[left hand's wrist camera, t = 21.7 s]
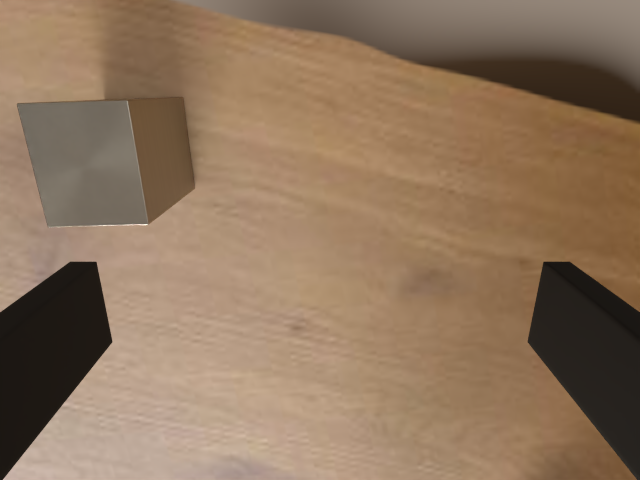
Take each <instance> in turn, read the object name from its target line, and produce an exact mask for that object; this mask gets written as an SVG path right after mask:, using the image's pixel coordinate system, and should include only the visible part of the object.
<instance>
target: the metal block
mask: <svg viewBox="0 0 640 480" xmlns="http://www.w3.org/2000/svg"><path fill="white" fill-rule="evenodd" d="M17 107H18V111H19V115H20V119H21V123H22V127H23V131H24V135H25V138H26V142H27V146H28V150H29V154H30V158H31V162H32V166H33V170H34V174H35V178H36V182H37V186H38V190H39V194H40V198H41V202H42V206H43V210H44V214H45V218H46V222H47V226H48V227H78V226H116V225H148V224H150V223H151V222H152V221H154V220H155V219H156V218H158V217H159V216H160V215H161V214H163V213H164V212H165V211H167V210H168V209H169V208H170V207H172V206H173V205H174V204H176V203H177V202H178V201H179V200H181V199H182V198H183V197H185V196H186V195H187V194H188V193H190V192H191V191H192V190H194V189H195V187H194V179H193V171H192V163H191V155H190V148H189V140H188V132H187V124H186V116H185V109H184V101H183V97H177V98H143V99H110V100H85V101H62V102H39V103H18V104H17Z"/></svg>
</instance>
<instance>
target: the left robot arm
mask: <svg viewBox="0 0 640 480" xmlns="http://www.w3.org/2000/svg"><path fill="white" fill-rule="evenodd" d="M111 343H112V337H111V332H110V327H109V322H108V317H107V312H106V307H105V302H104V297H103V292H102V287H101V282H100V277H99V272H98V267H97V262H69V263H68V264H67V265H65V266H64V267H62V268H61V269H60V270H58V271H57V272H55V273H54V274H53V275H51V276H50V277H49V278H47V279H46V280H44V281H43V282H42V283H40V284H39V285H38V286H36V287H35V288H33V289H32V290H31V291H29V292H28V293H26V294H25V295H24V296H22V297H21V298H20V299H18V300H17V301H15V302H14V303H13V304H11V305H10V306H8V307H7V308H6V309H4V310H3V311H2V312H0V480H3V479H4V477H5V476H6V475H7V474H8V472H9V471H10V470H11V469H12V467H13V466H14V465H15V464H16V462H17V461H18V460H19V459H20V457H21V456H22V455H23V454H24V452H25V451H26V450H27V449H28V447H29V446H30V445H31V444H32V442H33V441H34V440H35V439H36V437H37V436H38V435H39V433H40V432H41V431H42V430H43V428H44V427H45V426H46V425H47V423H48V422H49V421H50V420H51V418H52V417H53V416H54V415H55V413H56V412H57V411H58V410H59V408H60V407H61V406H62V405H63V403H64V402H65V401H66V400H67V398H68V397H69V396H70V395H71V393H72V392H73V391H74V390H75V388H76V387H77V386H78V385H79V383H80V382H81V381H82V380H83V378H84V377H85V376H86V374H87V373H88V372H89V371H90V369H91V368H92V367H93V366H94V364H95V363H96V362H97V361H98V359H99V358H100V357H101V356H102V354H103V353H104V352H105V351H106V349H107V348H108V347H109V346H110V344H111ZM528 343H529V344H530V346H531V347H532V348H533V349H534V351H535V352H536V353H537V354H538V356H539V357H540V358H541V359H542V361H543V362H544V363H545V364H546V366H547V367H548V368H549V369H550V371H551V372H552V373H553V374H554V376H555V377H556V378H557V380H558V381H559V382H560V383H561V385H562V386H563V387H564V388H565V390H566V391H567V392H568V393H569V395H570V396H571V397H572V398H573V400H574V401H575V402H576V403H577V405H578V406H579V407H580V408H581V410H582V411H583V412H584V413H585V415H586V416H587V417H588V418H589V420H590V421H591V422H592V423H593V425H594V426H595V427H596V428H597V430H598V431H599V432H600V433H601V435H602V436H603V437H604V439H605V440H606V441H607V442H608V444H609V445H610V446H611V447H612V449H613V450H614V451H615V452H616V454H617V455H618V456H619V457H620V459H621V460H622V461H623V462H624V464H625V465H626V466H627V467H628V469H629V470H630V471H631V472H632V474H633V475H634V476H635V477H636V479H637V480H640V312H638V311H637V310H636V309H634V308H633V307H632V306H630V305H629V304H627V303H626V302H625V301H623V300H622V299H620V298H619V297H618V296H616V295H615V294H614V293H612V292H611V291H609V290H608V289H607V288H605V287H604V286H602V285H601V284H600V283H598V282H597V281H596V280H594V279H593V278H591V277H590V276H589V275H587V274H586V273H585V272H583V271H582V270H580V269H579V268H578V267H576V266H575V265H573V264H572V263H571V262H543V267H542V272H541V277H540V282H539V287H538V292H537V297H536V302H535V307H534V312H533V317H532V322H531V327H530V332H529V337H528Z"/></svg>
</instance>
